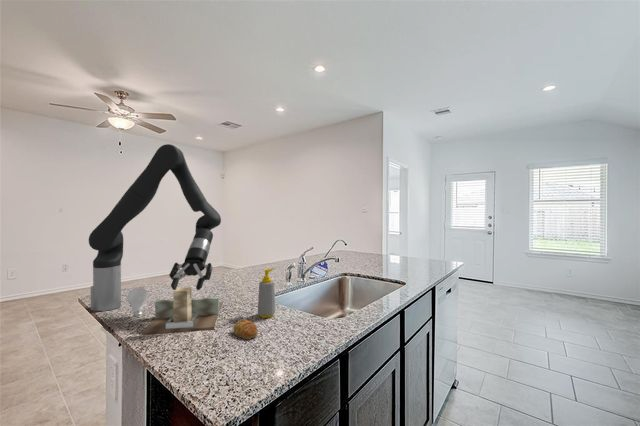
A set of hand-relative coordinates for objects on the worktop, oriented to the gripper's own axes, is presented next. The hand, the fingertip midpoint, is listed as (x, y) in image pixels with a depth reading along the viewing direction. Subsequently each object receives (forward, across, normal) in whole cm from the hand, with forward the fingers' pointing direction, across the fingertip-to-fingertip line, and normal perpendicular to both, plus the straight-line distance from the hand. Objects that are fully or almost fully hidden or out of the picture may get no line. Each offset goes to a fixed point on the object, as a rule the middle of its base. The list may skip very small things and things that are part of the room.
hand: (185, 289), depth 103 cm
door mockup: (+5, -1, +12) cm, 13 cm away
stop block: (+10, 0, +6) cm, 12 cm away
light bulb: (+4, -21, +14) cm, 25 cm away
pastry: (+15, +24, +3) cm, 28 cm away
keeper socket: (+11, 0, +7) cm, 13 cm away
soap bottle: (+4, +28, +14) cm, 31 cm away
